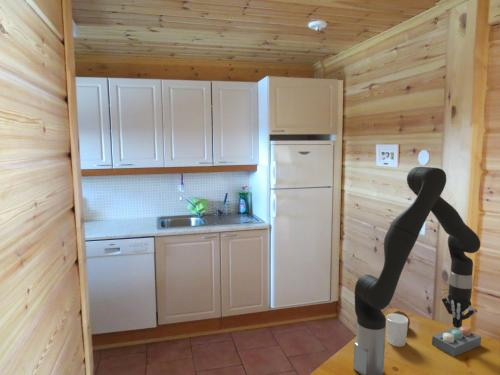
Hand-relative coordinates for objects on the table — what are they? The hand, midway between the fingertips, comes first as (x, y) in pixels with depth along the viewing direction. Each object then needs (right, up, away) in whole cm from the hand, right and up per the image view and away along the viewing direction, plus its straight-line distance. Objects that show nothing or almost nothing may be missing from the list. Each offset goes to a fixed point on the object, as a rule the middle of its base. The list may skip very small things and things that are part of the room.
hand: (457, 326), depth 136 cm
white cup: (-22, -8, +3) cm, 24 cm away
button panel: (0, -7, +1) cm, 7 cm away
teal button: (0, -6, +1) cm, 6 cm away
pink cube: (+5, -6, +3) cm, 8 cm away
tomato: (-16, -6, +14) cm, 22 cm away
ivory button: (-4, -6, -1) cm, 8 cm away
